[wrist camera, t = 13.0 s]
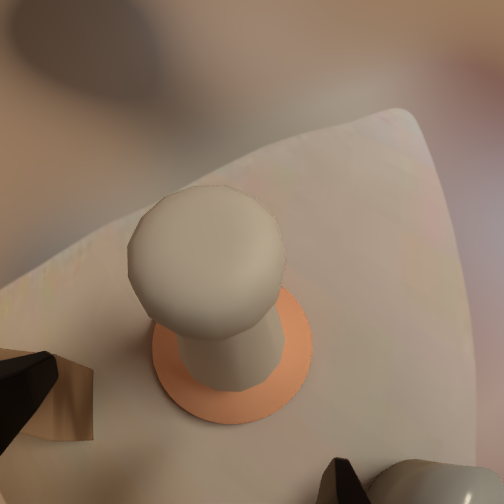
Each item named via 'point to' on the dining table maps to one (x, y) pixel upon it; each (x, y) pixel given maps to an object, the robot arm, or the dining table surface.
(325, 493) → the robot arm
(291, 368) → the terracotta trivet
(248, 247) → the salt shaker
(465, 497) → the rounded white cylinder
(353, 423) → the dining table surface
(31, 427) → the walnut block
